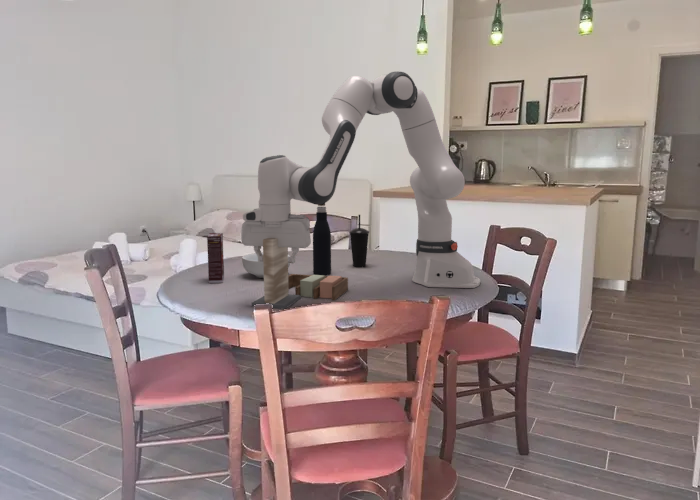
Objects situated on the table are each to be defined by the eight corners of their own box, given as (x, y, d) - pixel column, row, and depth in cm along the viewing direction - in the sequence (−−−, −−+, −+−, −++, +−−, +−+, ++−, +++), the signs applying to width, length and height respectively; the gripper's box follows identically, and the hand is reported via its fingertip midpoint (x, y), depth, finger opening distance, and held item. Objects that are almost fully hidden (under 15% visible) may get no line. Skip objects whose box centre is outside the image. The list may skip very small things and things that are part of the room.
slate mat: (300, 298, 161) (300, 295, 160) (284, 309, 149) (284, 305, 149) (269, 295, 163) (269, 292, 163) (251, 306, 152) (251, 302, 152)
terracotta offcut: (341, 291, 169) (341, 276, 168) (332, 299, 161) (332, 282, 160) (329, 291, 170) (329, 275, 169) (319, 298, 162) (319, 281, 161)
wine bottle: (328, 276, 190) (328, 190, 185) (311, 275, 192) (310, 190, 187) (332, 272, 197) (332, 189, 192) (315, 271, 198) (314, 189, 193)
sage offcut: (325, 291, 170) (325, 275, 169) (312, 297, 162) (312, 281, 161) (313, 290, 172) (313, 274, 171) (300, 296, 163) (300, 280, 163)
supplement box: (223, 283, 181) (221, 236, 178) (208, 283, 180) (206, 236, 177) (224, 277, 189) (222, 232, 186) (210, 277, 188) (208, 232, 185)
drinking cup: (345, 266, 208) (345, 214, 205) (359, 263, 213) (359, 213, 210) (358, 269, 202) (358, 216, 199) (373, 266, 207) (373, 214, 204)
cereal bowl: (235, 280, 185) (234, 259, 184) (251, 270, 201) (251, 251, 200) (283, 281, 182) (283, 261, 181) (296, 271, 199) (295, 252, 197)
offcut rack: (347, 289, 171) (347, 277, 170) (334, 300, 158) (334, 287, 158) (291, 285, 176) (291, 273, 176) (274, 295, 164) (274, 282, 163)
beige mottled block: (288, 295, 161) (287, 235, 157) (274, 303, 151) (272, 240, 148) (279, 294, 161) (277, 234, 158) (264, 302, 152) (262, 239, 149)
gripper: (313, 213, 152) (314, 261, 154) (248, 212, 158) (250, 258, 160) (305, 215, 146) (306, 266, 148) (237, 214, 152) (239, 262, 154)
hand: (276, 262), depth 154 cm, fingers open, 8 cm apart
